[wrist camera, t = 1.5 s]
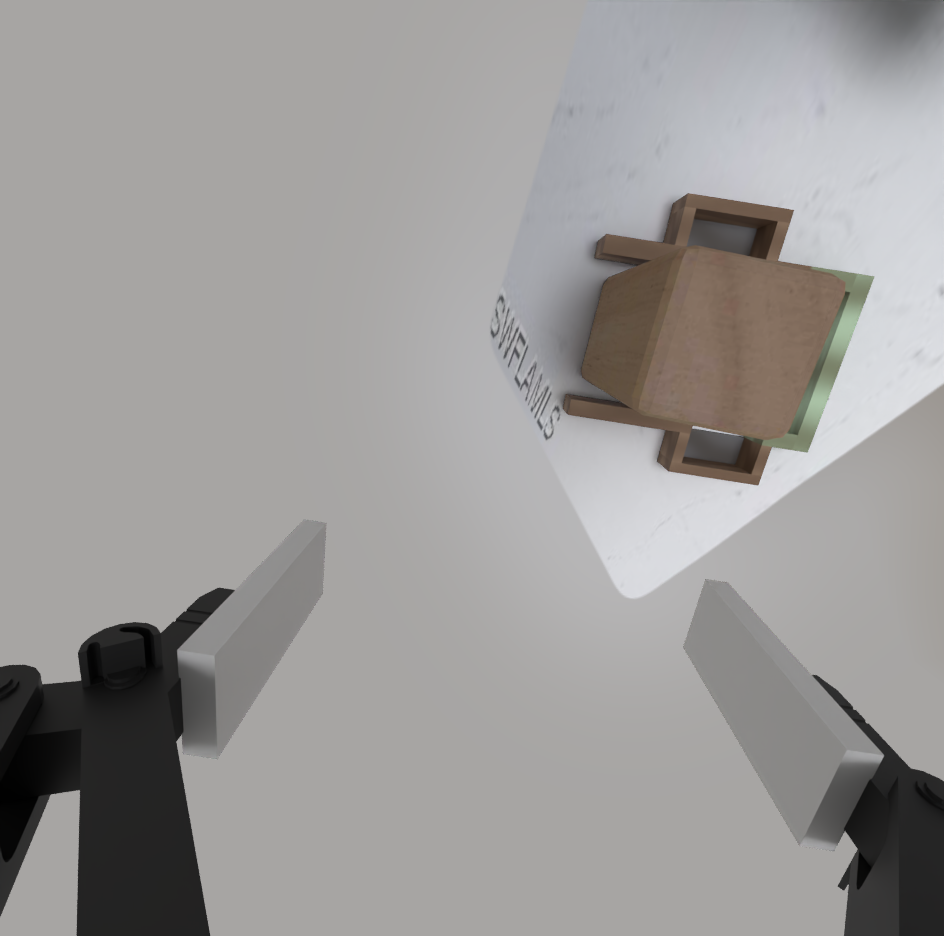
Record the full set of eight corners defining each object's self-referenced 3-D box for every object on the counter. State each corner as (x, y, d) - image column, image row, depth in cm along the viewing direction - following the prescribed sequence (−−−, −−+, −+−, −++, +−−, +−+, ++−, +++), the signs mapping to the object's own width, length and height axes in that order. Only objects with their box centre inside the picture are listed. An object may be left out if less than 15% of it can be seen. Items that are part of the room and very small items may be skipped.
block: (705, 295, 45) (861, 275, 26) (672, 397, 48) (790, 447, 29) (603, 274, 45) (685, 238, 26) (577, 378, 48) (631, 415, 29)
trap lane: (608, 193, 43) (617, 182, 39) (862, 233, 43) (893, 225, 39) (554, 445, 50) (559, 453, 47) (772, 479, 50) (793, 490, 47)
